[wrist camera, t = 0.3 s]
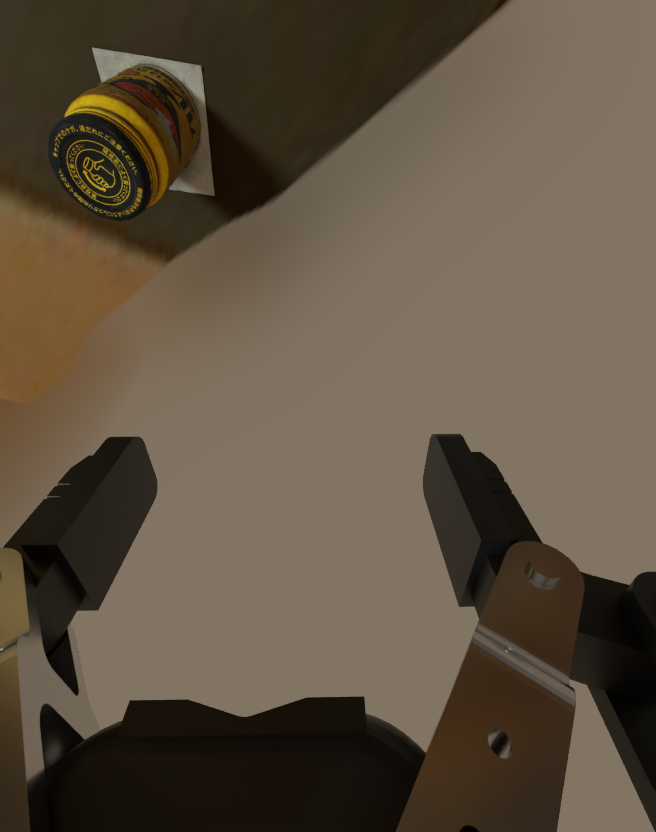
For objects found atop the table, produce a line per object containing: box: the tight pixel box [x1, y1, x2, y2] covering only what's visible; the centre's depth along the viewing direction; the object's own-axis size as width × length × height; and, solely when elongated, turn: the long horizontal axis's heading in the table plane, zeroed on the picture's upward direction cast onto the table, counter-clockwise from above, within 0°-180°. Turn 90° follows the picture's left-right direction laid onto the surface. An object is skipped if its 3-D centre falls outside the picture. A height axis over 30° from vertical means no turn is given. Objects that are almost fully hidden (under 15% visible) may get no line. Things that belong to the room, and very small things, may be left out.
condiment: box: [49, 48, 215, 221], centre depth 25 cm, size 7×8×12 cm
